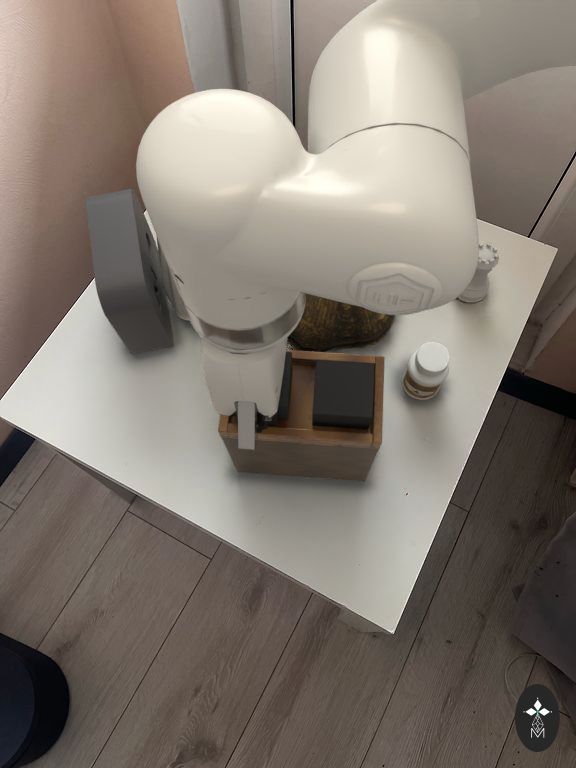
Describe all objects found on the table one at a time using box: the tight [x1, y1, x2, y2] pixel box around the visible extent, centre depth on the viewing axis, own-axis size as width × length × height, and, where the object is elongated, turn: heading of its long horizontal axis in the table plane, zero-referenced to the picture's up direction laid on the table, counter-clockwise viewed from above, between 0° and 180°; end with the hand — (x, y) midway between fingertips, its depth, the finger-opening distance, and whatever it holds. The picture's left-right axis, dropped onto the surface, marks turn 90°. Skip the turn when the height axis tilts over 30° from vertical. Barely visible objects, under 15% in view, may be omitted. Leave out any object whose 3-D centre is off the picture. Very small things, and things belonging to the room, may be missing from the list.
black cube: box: [232, 352, 293, 420], centre depth 53 cm, size 5×5×4 cm
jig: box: [217, 349, 385, 482], centre depth 61 cm, size 14×8×16 cm, turn 85°
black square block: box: [312, 359, 375, 430], centre depth 53 cm, size 5×5×4 cm
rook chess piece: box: [457, 242, 500, 303], centre depth 71 cm, size 4×4×8 cm
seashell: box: [287, 294, 396, 353], centre depth 71 cm, size 16×9×7 cm, turn 98°
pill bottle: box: [401, 341, 451, 401], centre depth 67 cm, size 4×4×8 cm
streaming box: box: [85, 188, 175, 355], centre depth 69 cm, size 14×14×5 cm
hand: (262, 389), depth 54 cm, fingers closed on black cube, 4 cm apart
